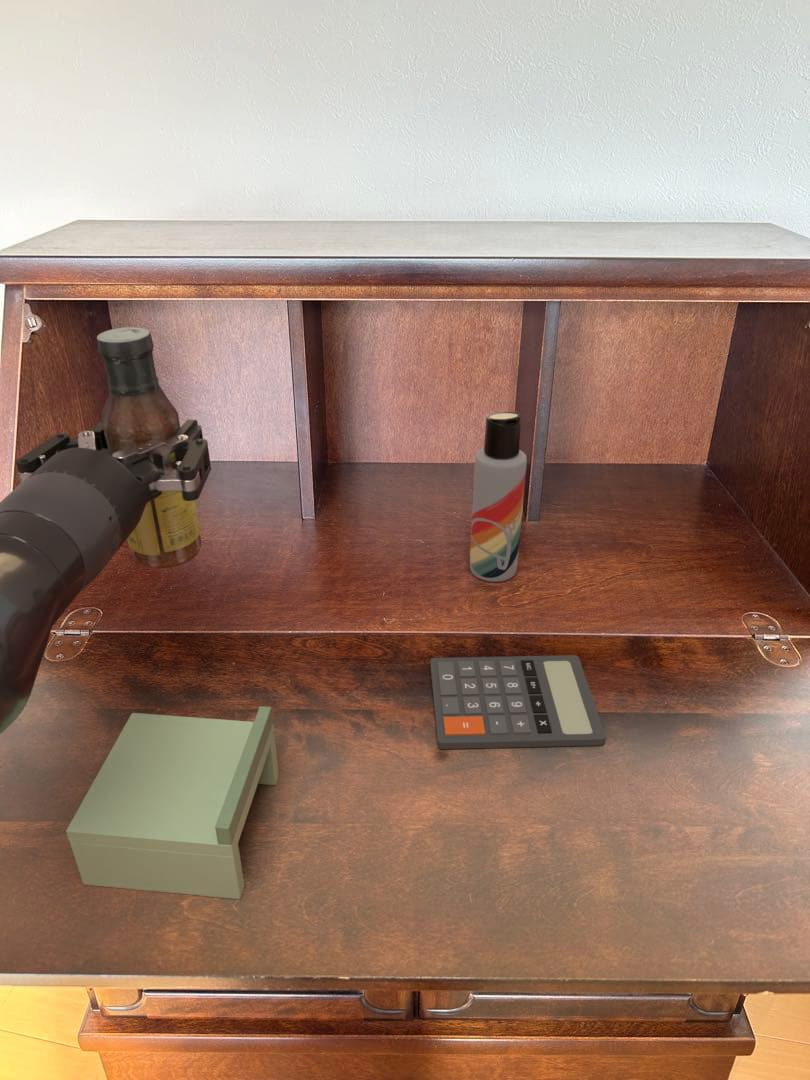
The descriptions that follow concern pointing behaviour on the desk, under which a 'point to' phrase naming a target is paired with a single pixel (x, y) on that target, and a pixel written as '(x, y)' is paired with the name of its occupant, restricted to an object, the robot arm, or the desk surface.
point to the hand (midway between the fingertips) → (155, 428)
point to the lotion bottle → (498, 499)
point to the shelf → (174, 804)
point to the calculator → (513, 702)
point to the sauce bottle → (138, 419)
